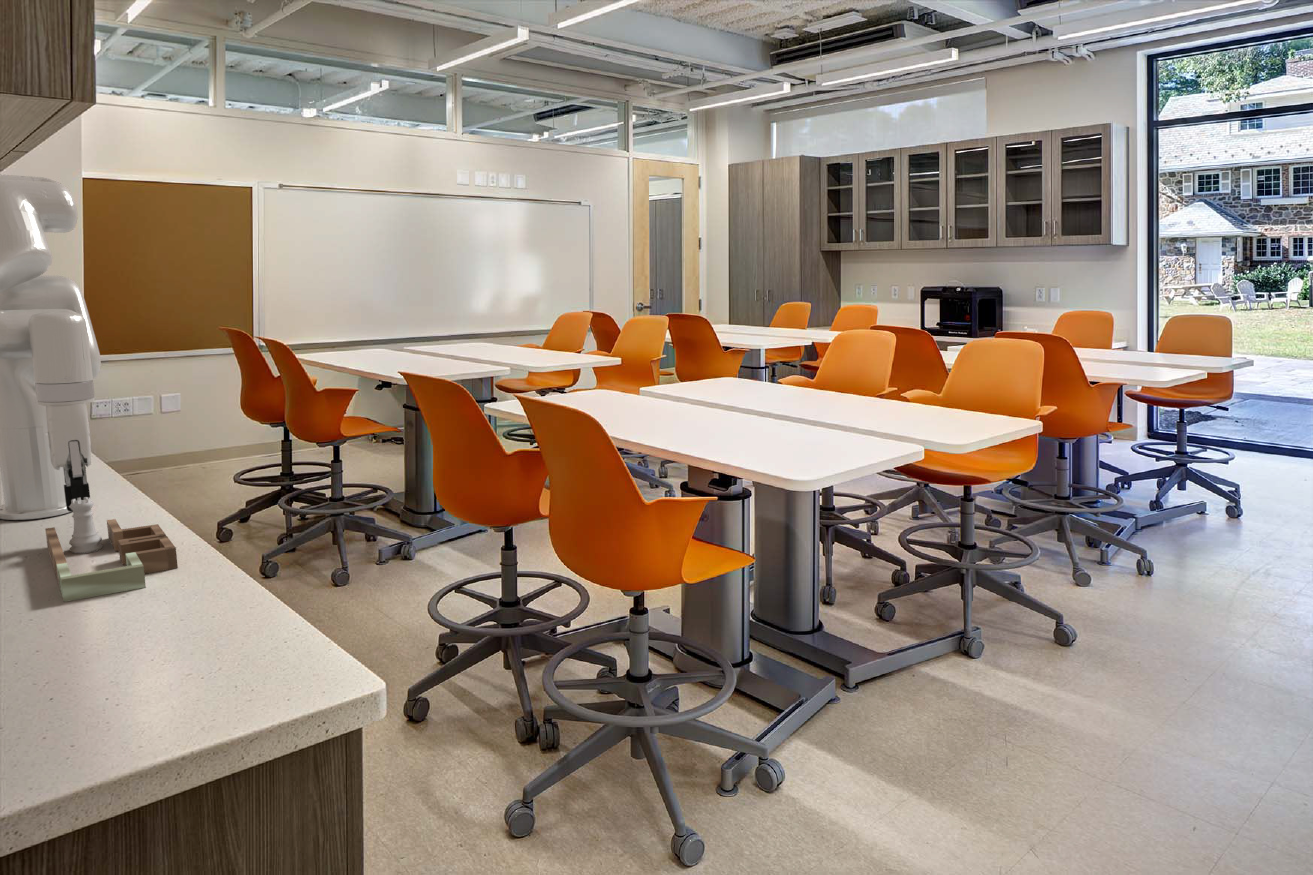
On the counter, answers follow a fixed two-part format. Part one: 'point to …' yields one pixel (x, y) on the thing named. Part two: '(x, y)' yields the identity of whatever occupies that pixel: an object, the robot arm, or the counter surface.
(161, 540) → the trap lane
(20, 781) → the counter surface
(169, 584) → the counter surface
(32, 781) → the counter surface
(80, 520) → the rook chess piece
